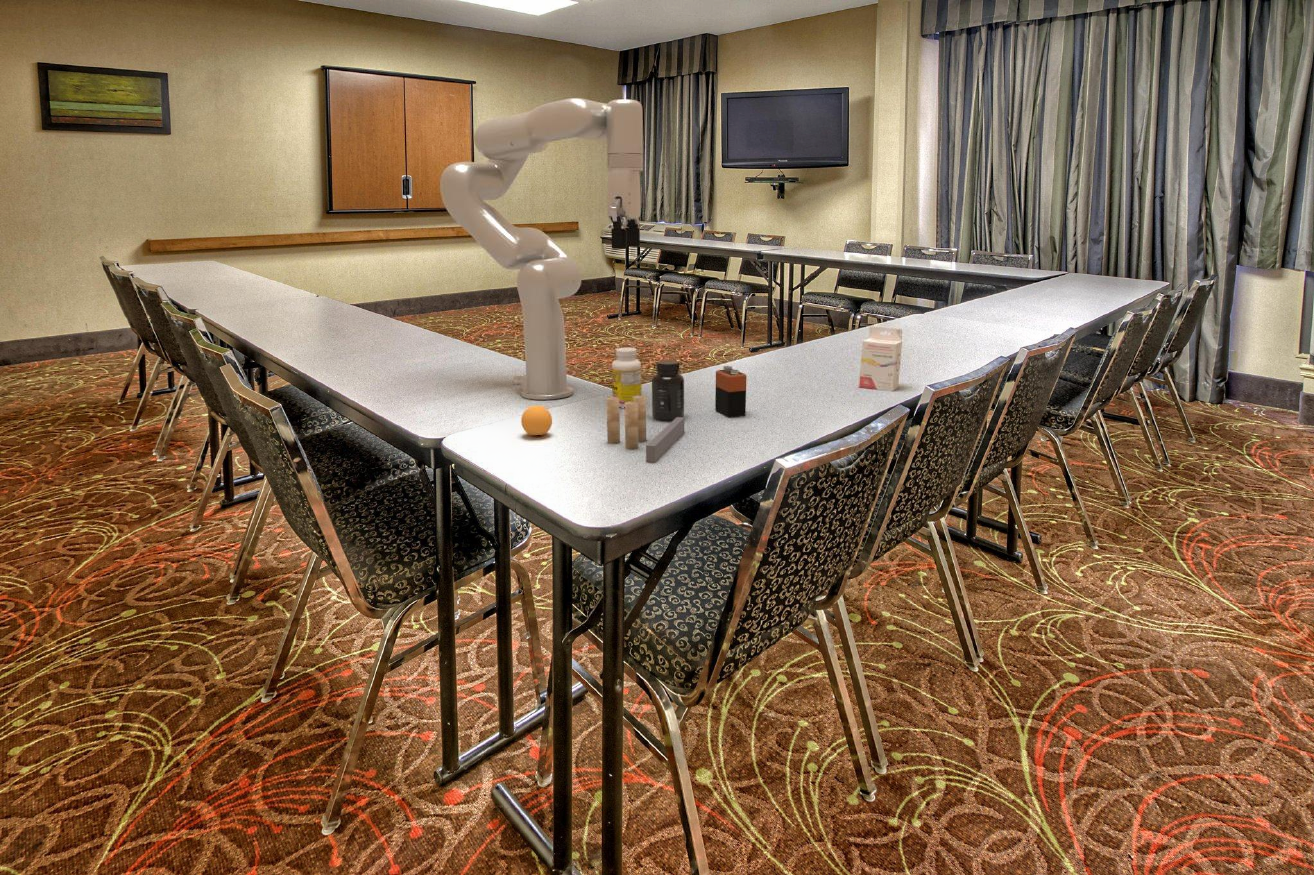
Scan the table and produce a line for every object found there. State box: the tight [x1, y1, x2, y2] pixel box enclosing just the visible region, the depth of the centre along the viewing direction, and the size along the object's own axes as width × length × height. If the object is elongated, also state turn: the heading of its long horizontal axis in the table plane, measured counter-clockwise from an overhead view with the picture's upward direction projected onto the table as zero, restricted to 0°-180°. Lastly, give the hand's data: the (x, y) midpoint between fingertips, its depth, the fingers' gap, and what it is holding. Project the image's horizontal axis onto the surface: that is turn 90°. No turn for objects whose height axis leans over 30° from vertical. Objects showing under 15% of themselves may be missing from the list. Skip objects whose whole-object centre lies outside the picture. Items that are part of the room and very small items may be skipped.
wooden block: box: [605, 396, 621, 445], centre depth 149 cm, size 2×2×8 cm
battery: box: [714, 365, 747, 418], centre depth 168 cm, size 4×7×10 cm, turn 21°
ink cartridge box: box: [858, 325, 903, 392], centre depth 190 cm, size 9×5×15 cm, turn 58°
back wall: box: [645, 417, 685, 463], centre depth 146 cm, size 2×20×3 cm, turn 163°
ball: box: [520, 405, 553, 436], centre depth 153 cm, size 6×6×6 cm
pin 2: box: [633, 395, 647, 443], centre depth 150 cm, size 2×2×8 cm
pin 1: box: [624, 402, 639, 450], centre depth 145 cm, size 2×2×8 cm
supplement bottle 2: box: [651, 359, 685, 422], centre depth 165 cm, size 7×7×12 cm
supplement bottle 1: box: [611, 347, 643, 407], centre depth 176 cm, size 7×7×13 cm
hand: (626, 247), depth 169 cm, fingers open, 9 cm apart
